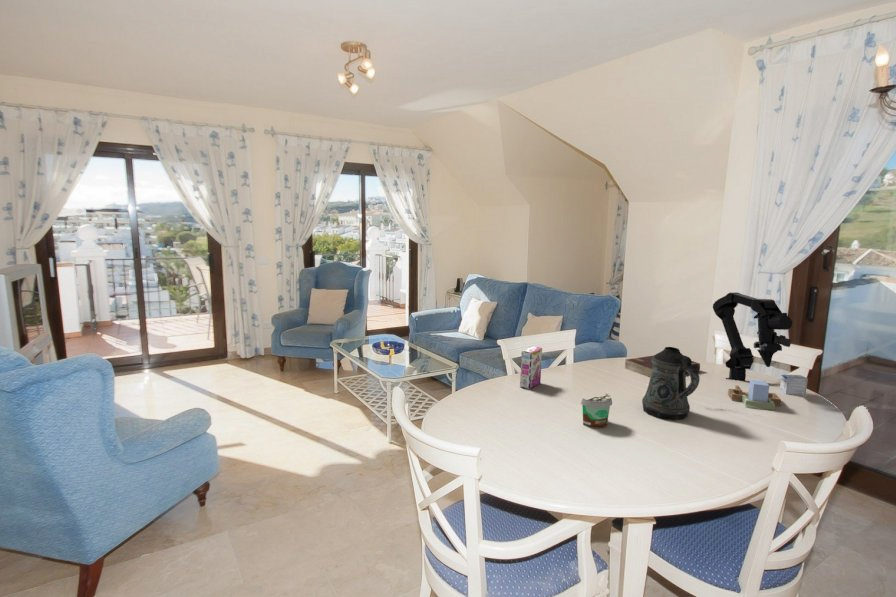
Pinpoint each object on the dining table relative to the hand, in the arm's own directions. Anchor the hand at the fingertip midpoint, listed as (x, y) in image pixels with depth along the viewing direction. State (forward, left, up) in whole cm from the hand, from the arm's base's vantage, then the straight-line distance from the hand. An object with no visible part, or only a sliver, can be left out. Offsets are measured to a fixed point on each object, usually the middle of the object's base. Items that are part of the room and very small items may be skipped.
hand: (768, 366), depth 200 cm
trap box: (+10, -13, -12) cm, 20 cm away
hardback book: (-36, -26, -13) cm, 46 cm away
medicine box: (+3, +9, -12) cm, 16 cm away
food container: (+25, -83, -12) cm, 87 cm away
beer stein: (+16, -52, -12) cm, 55 cm away
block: (+15, -15, -10) cm, 24 cm away
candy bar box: (-19, -96, -12) cm, 98 cm away
